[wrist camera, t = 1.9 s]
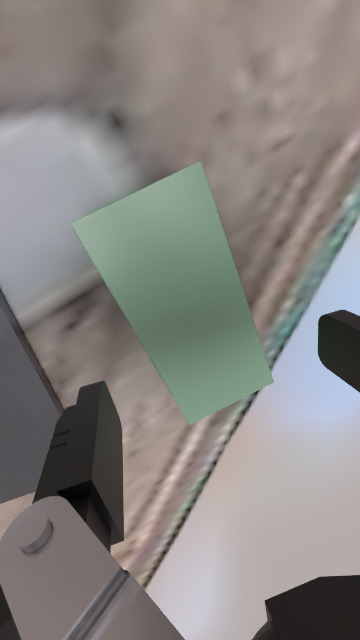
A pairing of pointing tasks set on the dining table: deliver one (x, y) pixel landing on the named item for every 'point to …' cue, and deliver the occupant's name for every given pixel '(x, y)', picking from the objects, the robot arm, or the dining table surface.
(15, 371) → the chassis
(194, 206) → the board
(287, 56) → the dining table surface
